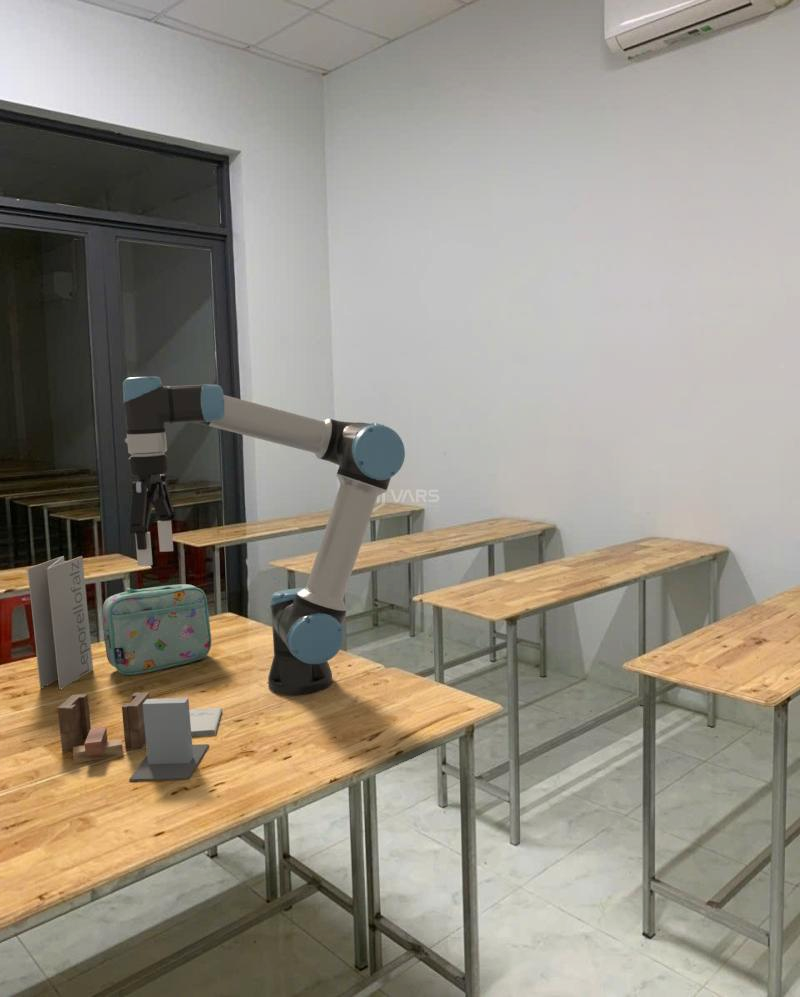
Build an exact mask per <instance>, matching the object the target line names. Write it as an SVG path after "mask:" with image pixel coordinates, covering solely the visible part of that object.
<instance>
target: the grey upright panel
mask: <svg viewBox="0 0 800 997" xmlns="http://www.w3.org/2000/svg"><path fill="white" fill-rule="evenodd" d="M189 702H190V701H189V697H176V698H175V697H171V698H149V699H146V701H145V702H144V703H143V714H144V725H145V736H146V743H145V745H146V746H145V747H146V756H147V759H148V764H175V763H190V762H191V760H192V758H193V750H192V745H193V738H192V737H193V736H191V724H190V712H189V710H190V703H189Z"/></svg>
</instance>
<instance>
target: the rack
mask: <svg viewBox="0 0 800 997" xmlns="http://www.w3.org/2000/svg"><path fill="white" fill-rule="evenodd" d="M88 697H89V696H88V693H82V694H72V695H70V696H69V697H68V698H67V699H66V700H65V701H64V702H63V703H62V704H60V705H59V706H58V707H57V714H58V716H57V717H58V725H59V735H60V744H61V751H62V752H68V751H69V752H73V747H77V746H81V745H80V744H81V742H82V741H83V740H86V739H87V736H88V734H89V731H90V729H92V727H91V718H90V706H89V698H88ZM131 698H132V701H130V702H128V703H126V702H125V703H124V704H123V705H122V706H121V712H122V724H123V725H122V726H123V735H124V744H125V745H124V746H125V751H131V750H141V749H142V748H143V747H145V745H146V736H145V725H144V714H143V703H144V702H145V701H146V699H150V692H134V693H133V694H132V695H131Z"/></svg>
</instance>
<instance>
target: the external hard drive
mask: <svg viewBox="0 0 800 997" xmlns="http://www.w3.org/2000/svg"><path fill="white" fill-rule="evenodd" d="M189 712H190V724H191V737H199V736H213V735H216V734H217V729H218V726H219V723H220V720H221V716H222V712H223V708H222V707H219V706H218V707H207V708H194V709H193V708H192V709H190V708H189Z"/></svg>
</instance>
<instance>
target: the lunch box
mask: <svg viewBox="0 0 800 997" xmlns="http://www.w3.org/2000/svg"><path fill="white" fill-rule="evenodd" d="M102 625H103V634H104V646H105V653H106V654H105V655H106V658H107V661H108V663H109V664H110V665H111V666H112V667H114V668H115V669H116V671H117V672H118V673H119V674H122V675H125V676H126V675H127V676H128V675H141V674H146V673H151V672H156V671H159V670H164V669H165V670H166V669H169V668H173V667H177V666H180V665H186V664H189V663H193V662H195V661H198V660H201V659H203V658H205V657H206V656H207V655H209V652H210V651H211V648H212V633H211V624H210V614H209V607H208V598H207V596H206V593H205V591H204V590H203V589H201V588H199V587H196V586H195V585H192V584H187V583H186V584H185V583H183V584H181V583H180V584H179V583H178V584H171V585H169V584H168V585H161V586H153V587H146V588H141V589H140V588H138V589H133V588H130V587H126V591H123V592H119V593H115V594H114V595H111V596H109V597H108V598H106V599H105V601H104V603H103V605H102Z"/></svg>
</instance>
